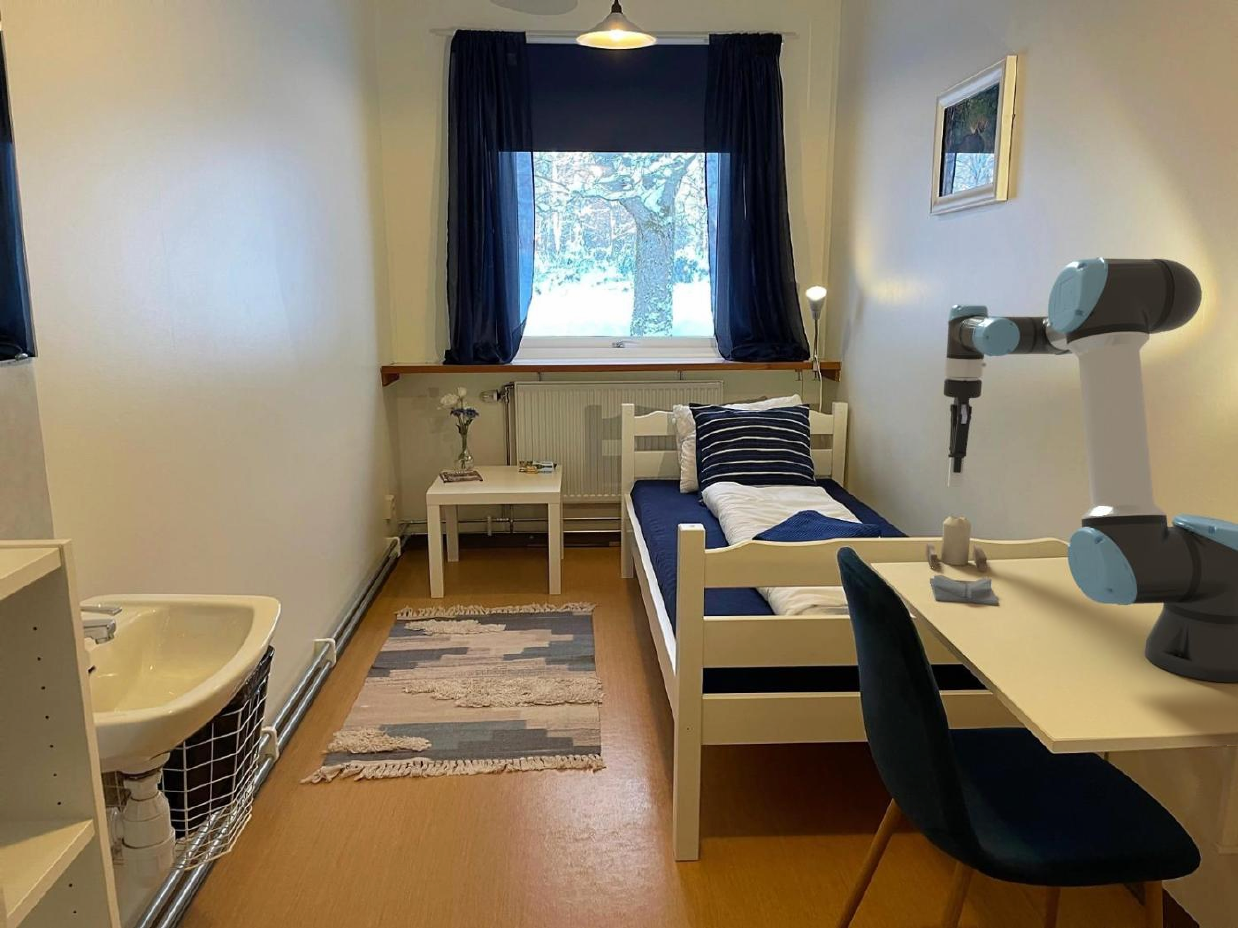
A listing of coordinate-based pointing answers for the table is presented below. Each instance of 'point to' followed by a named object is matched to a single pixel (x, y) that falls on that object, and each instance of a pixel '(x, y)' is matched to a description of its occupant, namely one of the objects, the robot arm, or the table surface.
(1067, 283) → the robot arm
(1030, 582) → the table surface
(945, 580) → the v block
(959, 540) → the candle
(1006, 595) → the table surface
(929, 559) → the channel
